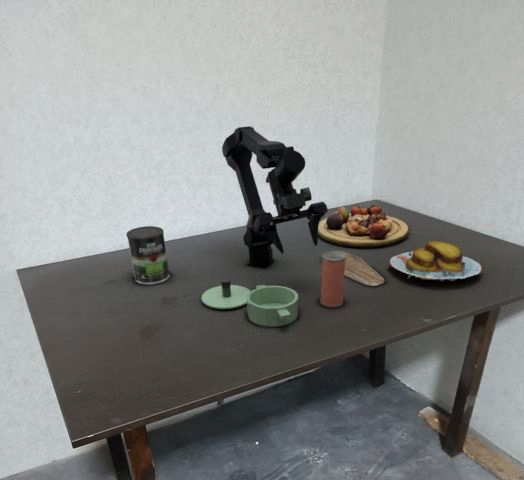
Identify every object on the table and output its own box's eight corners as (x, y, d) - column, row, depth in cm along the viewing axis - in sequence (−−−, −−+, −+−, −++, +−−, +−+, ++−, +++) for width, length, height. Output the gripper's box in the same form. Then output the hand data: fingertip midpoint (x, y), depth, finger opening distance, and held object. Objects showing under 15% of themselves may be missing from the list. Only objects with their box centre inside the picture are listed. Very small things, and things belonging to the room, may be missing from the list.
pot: (261, 336, 113) (260, 317, 111) (238, 303, 128) (237, 286, 125) (310, 325, 117) (310, 307, 114) (283, 295, 131) (282, 278, 128)
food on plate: (372, 274, 141) (374, 252, 137) (414, 249, 156) (416, 229, 152) (457, 298, 126) (462, 274, 122) (494, 268, 141) (499, 247, 137)
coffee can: (174, 280, 142) (168, 233, 135) (140, 287, 138) (131, 240, 131) (164, 268, 150) (157, 223, 142) (131, 275, 146) (122, 229, 138)
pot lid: (208, 315, 123) (206, 295, 120) (196, 293, 134) (194, 274, 131) (259, 305, 127) (258, 285, 124) (243, 285, 137) (242, 266, 134)
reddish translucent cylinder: (317, 305, 125) (318, 258, 118) (324, 295, 130) (326, 249, 123) (338, 309, 123) (341, 261, 116) (346, 299, 128) (349, 253, 121)
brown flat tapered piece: (396, 279, 137) (397, 275, 136) (369, 290, 133) (369, 287, 133) (339, 250, 156) (339, 247, 155) (314, 260, 152) (313, 256, 151)
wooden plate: (418, 247, 157) (422, 222, 152) (320, 250, 158) (321, 225, 153) (396, 217, 184) (399, 195, 179) (313, 220, 185) (313, 198, 180)
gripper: (253, 185, 114) (271, 247, 114) (325, 170, 118) (343, 230, 117) (246, 203, 125) (263, 260, 125) (313, 189, 129) (329, 244, 128)
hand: (299, 249), depth 124 cm, fingers open, 9 cm apart
